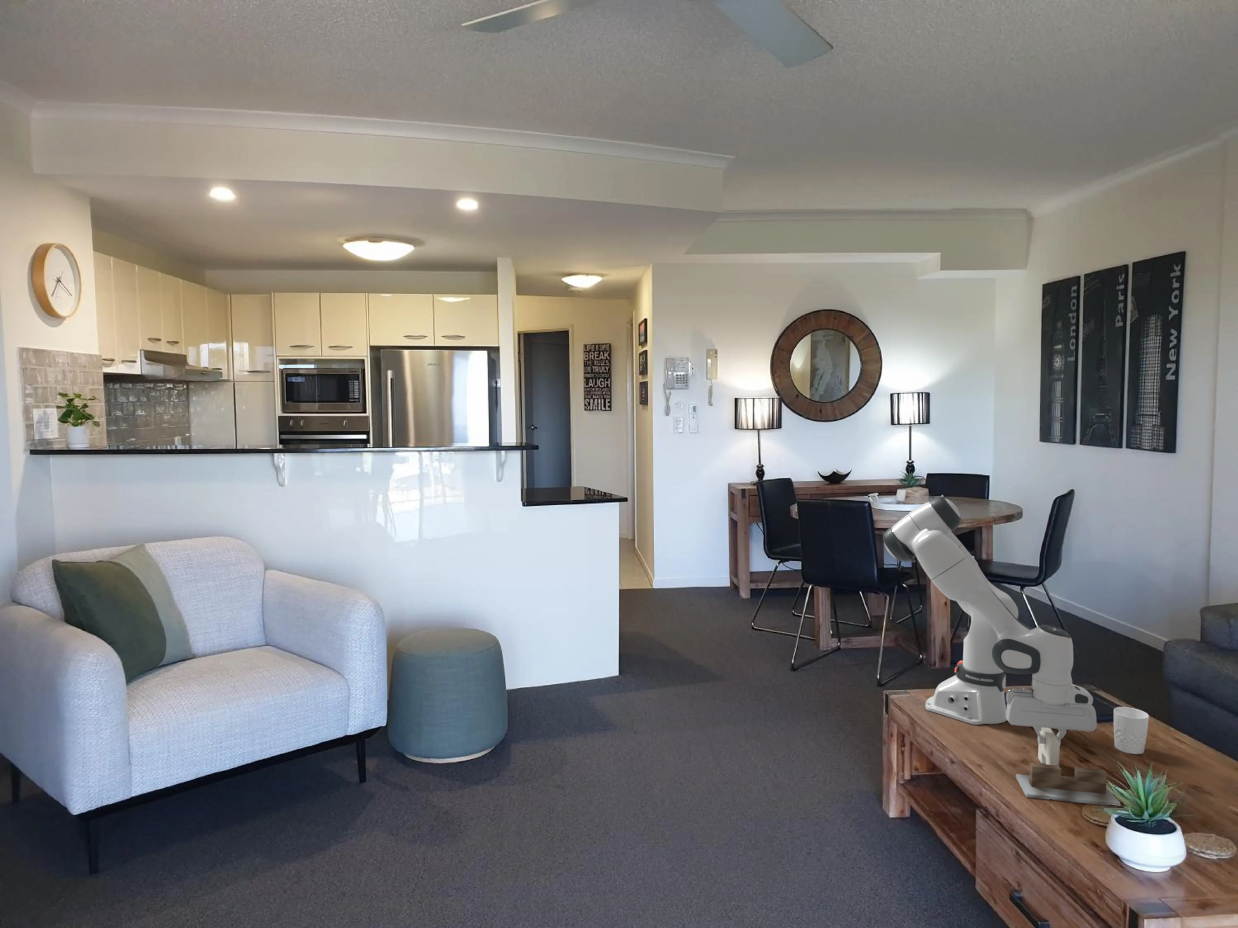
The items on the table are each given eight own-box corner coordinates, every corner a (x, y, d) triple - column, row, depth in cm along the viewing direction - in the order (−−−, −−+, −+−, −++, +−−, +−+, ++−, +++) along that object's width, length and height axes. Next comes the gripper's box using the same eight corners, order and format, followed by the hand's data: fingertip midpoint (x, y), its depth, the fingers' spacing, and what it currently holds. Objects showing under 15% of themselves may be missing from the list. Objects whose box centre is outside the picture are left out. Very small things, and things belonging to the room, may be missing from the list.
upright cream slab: (1058, 776, 197) (1059, 741, 196) (1049, 775, 197) (1051, 740, 197) (1046, 758, 207) (1047, 724, 206) (1038, 757, 207) (1039, 724, 206)
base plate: (1026, 796, 187) (1027, 773, 187) (1015, 776, 197) (1016, 754, 196) (1121, 806, 183) (1122, 782, 182) (1105, 785, 192) (1107, 762, 192)
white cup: (1152, 756, 208) (1154, 719, 207) (1118, 753, 209) (1120, 717, 208) (1139, 743, 215) (1141, 707, 215) (1106, 741, 217) (1108, 705, 216)
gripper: (1009, 691, 200) (1007, 744, 201) (1100, 698, 195) (1097, 752, 196) (1003, 682, 206) (1001, 734, 207) (1091, 689, 201) (1088, 742, 202)
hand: (1048, 743), depth 202 cm, fingers closed on upright cream slab, 2 cm apart
